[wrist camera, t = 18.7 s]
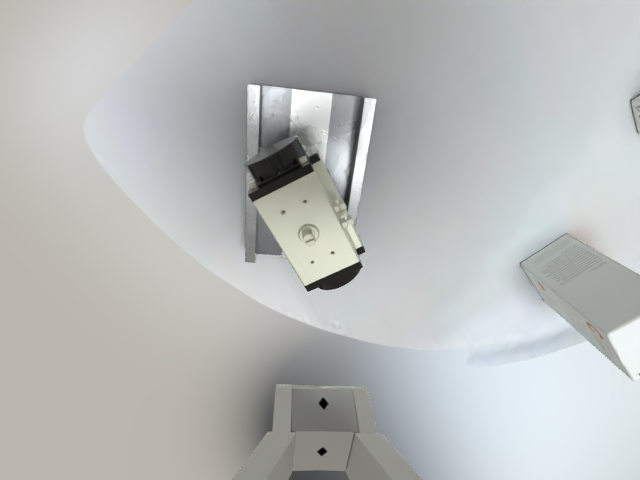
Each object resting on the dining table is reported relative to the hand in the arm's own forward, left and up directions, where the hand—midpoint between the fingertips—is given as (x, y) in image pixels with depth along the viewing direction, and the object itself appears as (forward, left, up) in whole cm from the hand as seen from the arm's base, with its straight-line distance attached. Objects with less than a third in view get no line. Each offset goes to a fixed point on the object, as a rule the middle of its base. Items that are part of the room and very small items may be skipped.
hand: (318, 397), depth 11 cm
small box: (+9, +32, -27) cm, 42 cm away
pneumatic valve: (0, 0, -25) cm, 25 cm away
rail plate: (0, 0, -27) cm, 27 cm away
